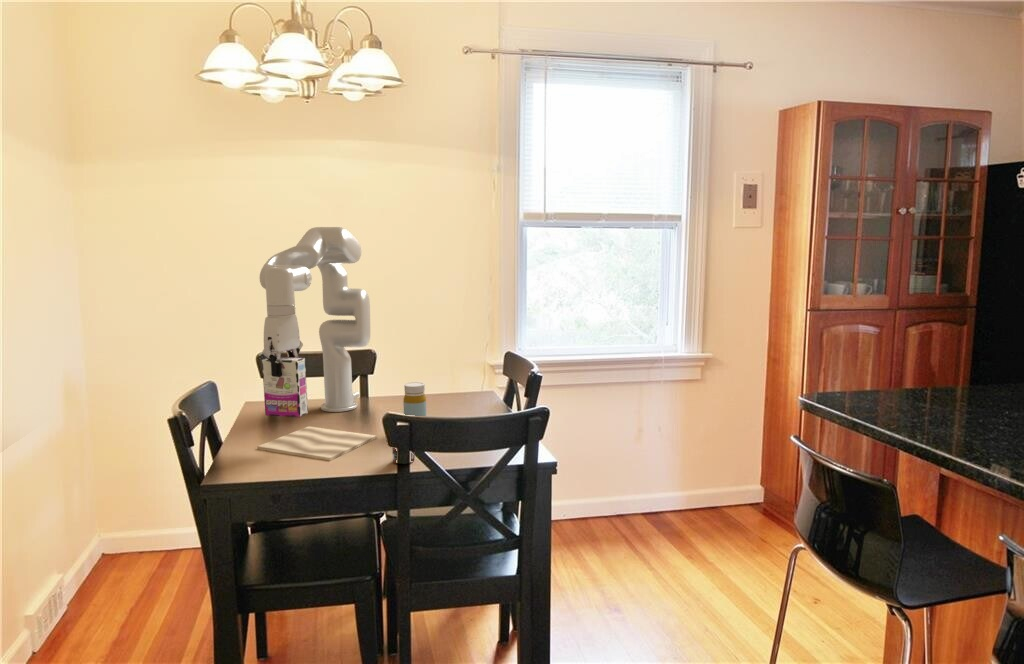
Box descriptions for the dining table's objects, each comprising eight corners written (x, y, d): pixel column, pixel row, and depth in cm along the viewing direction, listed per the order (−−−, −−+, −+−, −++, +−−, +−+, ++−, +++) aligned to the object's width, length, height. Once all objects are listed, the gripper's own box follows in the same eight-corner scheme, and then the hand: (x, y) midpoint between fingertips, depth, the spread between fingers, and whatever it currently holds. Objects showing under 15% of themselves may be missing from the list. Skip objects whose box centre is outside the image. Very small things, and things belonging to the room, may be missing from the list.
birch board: (308, 428, 215) (308, 426, 215) (376, 438, 205) (376, 435, 205) (257, 449, 195) (257, 446, 195) (330, 460, 185) (330, 457, 185)
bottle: (428, 427, 215) (427, 381, 213) (425, 434, 208) (423, 386, 206) (406, 427, 216) (405, 381, 213) (402, 434, 209) (401, 386, 206)
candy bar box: (309, 413, 195) (306, 357, 193) (300, 417, 190) (297, 360, 188) (273, 411, 197) (270, 356, 195) (264, 415, 192) (260, 359, 190)
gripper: (291, 307, 199) (294, 367, 201) (248, 314, 183) (252, 379, 186) (312, 308, 196) (315, 369, 198) (269, 315, 180) (273, 381, 183)
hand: (284, 373), depth 192 cm, fingers closed on candy bar box, 5 cm apart
